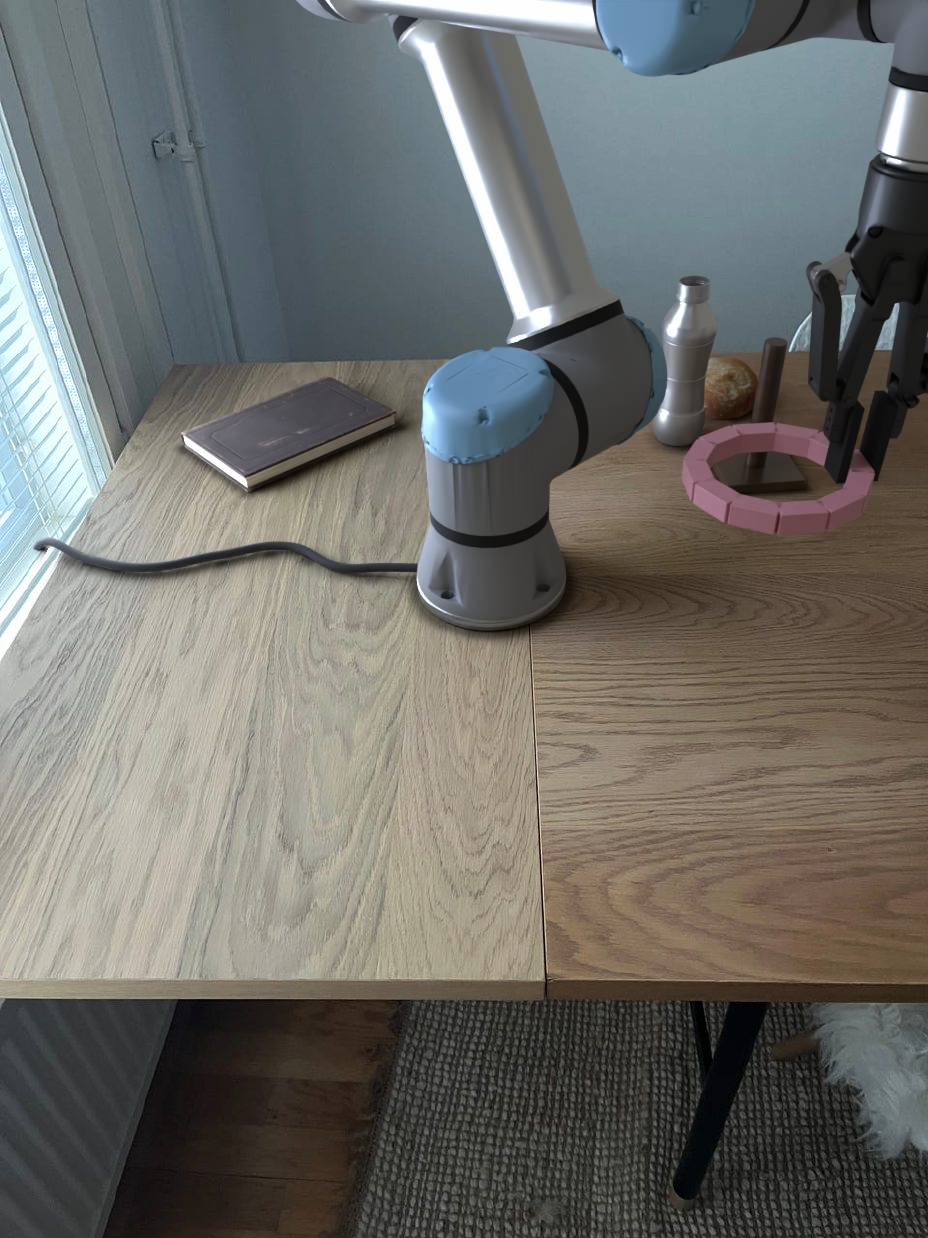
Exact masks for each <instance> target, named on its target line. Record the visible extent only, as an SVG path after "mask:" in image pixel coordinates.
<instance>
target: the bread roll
mask: <svg viewBox="0 0 928 1238" xmlns="http://www.w3.org/2000/svg"><path fill="white" fill-rule="evenodd" d="M706 372H707V374H706V379H705V395H704V406H705V418H707V419H711V420H732V419H739V418H740V417H742V416H744V415H746V414H748V413H750V411H753V408H754V402H755V396H756V390H757V384H758V377H757V374H756V373H755V372H754V370H753V369H752V368H751V367H750V365H748V364H747V363H745V362H744V361H742V360H740V359H739V358H735V357H715V356H713V357H710V358H709V363H708V369H707V371H706Z"/></svg>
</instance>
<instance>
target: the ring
mask: <svg viewBox="0 0 928 1238" xmlns="http://www.w3.org/2000/svg"><path fill="white" fill-rule="evenodd" d="M829 443H830V442H829V441H828V439H827V438H826V437H825V435H824V433H823V431H820V430H819V429H815V428H810V427H803V426H798V425H792V424H787V423H781V422H777V423H775V422H774V421H773V422H770V423H753V424H751V423H740V424H739V423H738V424H732V425H726V426H725V427H721V428H719V429H717V430H714V431H711V432H709V433H706V434H704V435H701V436H700V437H699V438H698V439H697V440H696V441H695V442H693V443H692V445H691V447H690V449H689V450H688V451H687V453H686V454H685V456H684V457H683V462H682V469H681V481H682V483H683V486H684V489H685V490H686V493H687V495H688V498H689V501H690V502H692V504H693V505H695V506H696V507H697V508H699V509H701V510H702V511H704V512H706V513H707V514H709V516H710V515H711V516H712V517H713V518H715V519H717V520H718V521H719V522H721V523H723V524H725V523H727V525H728V526H732V527H738V528H741V529H746V530H749V531H750V530H751V531H754V532H759V533H763V534H766V535H767V534H768V535H771V536H772V535H773V536H774V535H775V533H776V535H777V536H790V535H792V536H793V535H807V534H809V535H810V534H824V533H825V531H826V532H830V531H833V530H835V529H836V528H839V527H842V526H844V525H845V524H847V523H850V522H852V521H854V520H856V519H858V518H860V517H861V515H863V513H864V510H865V508H866V505H867V502H868V499H869V497H870V495H871V491H872V487H873V485H874V482H873V480H874V476H875V474H874V470H873V469H872V467H871V466H870V464H869V463H868V462H867V460H866V459H865V458H864V456H863V455H862V453H861V452H860V451H859V449H857V447H856V446H855V449H854V453H853V457H852V460H851V464H850V468H849V471H848V476H847V480H846V482H845V484H841V485H842V488H840V489H839V490H836V491H834V492H831V493H830V494H827V495H825V496H823V497H820V498H819V499H815V500H814V499H812V500H811V499H810V500H795V501H773V500H769V499H765V498H760V497H757V496H751V495H746V494H743V493H742V494H740V493H738V492H736V491H735V490H733V489H731V488H729V487H728V486H726V485H724V484H723V483H721V482H720V481H719V479H718V480H717V479H716V478H715V475H714V474H713V472H712V470H711V469H712V466H713V464H714V463H716V462H718V461H721V460H723V459H726V458H728V457H731V456H733V455H736V454H738V453H750V452H767V451H775V452H781V453H786V454H788V455H792V456H797V457H802V458H807V459H809V460H810V461H812V462H814V463H816V464H818V465H820V466H821V467H824V464H825V459H826V455H827V451H828V447H829Z"/></svg>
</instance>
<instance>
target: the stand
mask: <svg viewBox="0 0 928 1238" xmlns="http://www.w3.org/2000/svg"><path fill="white" fill-rule="evenodd" d="M788 344H789V343H788V340H786V339H785V338H782V337H777V336H773V337H768V338H766V339H765V340H764V343H763V349H762V353H761V361H760V367H759V373H758V377H757V380H758V384H757V390H756V396H755V402H754V408H753V409H752V414H751V420H750V424H753V423H770V422H774V419H775V414H776V409H777V403H778V397H779V392H780V387H781V381H782V377H783V376H782V375H783V372H784V371H783V370H784V365H785V360H786V355H787V348H788ZM711 469H712V470H713V472H714V474H715V476H716V477H717V479H718V481H719V482H721V483H723V484H724V485H726V486H728V487H729V488H731V489H733V490H735V491H736V492H738V493H740V494H742V495H743V494H753V493H755V494H756V493H767V492H779V491H780V492H783V491H794V490H795V491H796V490H805V489H804V488H805V484H806V479H805V477H804V475H803V474H802V472H801V471H800V470H799V469H798V467H797V465H796V464H795V462H794V461H793V459H792V458H791V457H790V454H786V453H781V452H775V451H767V452H750V453H738V454H736V455H733V456H731V457H728V458H726V459H723V460H721V461H718V462H716V463H714V464H713V466H712V467H711Z"/></svg>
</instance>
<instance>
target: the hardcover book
mask: <svg viewBox="0 0 928 1238" xmlns="http://www.w3.org/2000/svg"><path fill="white" fill-rule="evenodd" d="M395 414H397V410H395V409H393V408H391V407H390V406H387V405H385V404H383V403H381V402H379V401H378V400H376V399H374V398H373V397H370V396H368V395H366V394H365V393H364V392H361V391H359V390H356V389H355V388H353V387H351V386H349V385H347V384H345V383H344V382H341V381H340V380H338V379H336V378H334V377H332V376H330V375H325V376H323V377H320V378H318V379H316V380H313V381H310V382H307V383H304V384H303V385H300V386H297V387H294V388H292V389H290V390H287V391H284V392H282V393H279V394H277V395H275V396H272V397H269V398H267V399H264V400H261V401H259V402H256V403H253V404H252V405H248V406H246V407H243V408H240V409H238V410H236V411H233V412H230V413H227V414H225V415H223V416H220V417H218V418H214V419H213V420H210V421H208V422H205V423H202V424H199V425H197V426H194V427H192V428H189V429H187V430H184V431H181V433H180V439H181V442H182V445H183V446H184V448H186V450H188V451H189V452H190V453H192V454H193V455H194V456H196V457H198V458H199V459H201V461H203V462H204V463H206V464H207V465H209V466H210V467H212V468H213V469H215V471H217V472H219V473H220V474H221V475H223V476H224V477H226V478H227V479H228V480H230V481H231V482H233V483H234V484H235V485H237V486H238V487H239V488H241V489H242V490H244V491H245V492H247V493H250V492H252V491H255V490H257V489H259V488H261V487H264V486H266V485H267V484H270V483H272V482H275V481H277V480H280V479H282V478H284V477H287V476H289V475H291V474H293V473H295V472H297V471H300V470H302V469H305V468H307V467H309V466H311V465H313V464H316V463H318V462H321V461H323V460H325V459H327V458H329V457H331V456H335V455H337V454H338V453H340V452H343V451H345V450H348V449H350V448H353V447H354V446H357V445H359V444H361V443H364V442H365V441H368V440H370V439H373V438H375V437H377V436H379V435H381V434H384V433H386V432H388V431H390V430H393V429H395V428H397V427H399V424H397V423H395V419H396V417H394V416H395Z"/></svg>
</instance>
